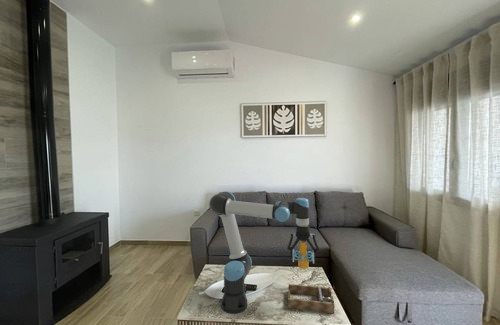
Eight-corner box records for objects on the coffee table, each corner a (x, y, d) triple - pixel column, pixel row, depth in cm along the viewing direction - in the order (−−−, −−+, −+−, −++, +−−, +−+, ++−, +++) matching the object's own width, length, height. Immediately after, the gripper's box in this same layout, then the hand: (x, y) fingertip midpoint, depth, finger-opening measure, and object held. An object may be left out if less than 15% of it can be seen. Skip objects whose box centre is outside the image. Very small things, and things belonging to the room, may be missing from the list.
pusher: (320, 309, 128) (320, 299, 128) (318, 295, 141) (318, 286, 141) (334, 311, 127) (334, 301, 127) (331, 296, 140) (331, 287, 139)
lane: (287, 307, 130) (287, 297, 130) (288, 291, 146) (288, 282, 146) (334, 313, 125) (334, 302, 125) (329, 295, 141) (329, 286, 141)
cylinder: (298, 272, 129) (297, 246, 129) (290, 264, 139) (289, 239, 139) (317, 269, 132) (317, 243, 132) (308, 261, 142) (307, 237, 142)
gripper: (282, 225, 134) (283, 263, 134) (323, 227, 129) (324, 266, 130) (283, 222, 141) (283, 257, 142) (322, 223, 137) (323, 260, 137)
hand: (303, 261), depth 136 cm, fingers closed on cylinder, 11 cm apart
